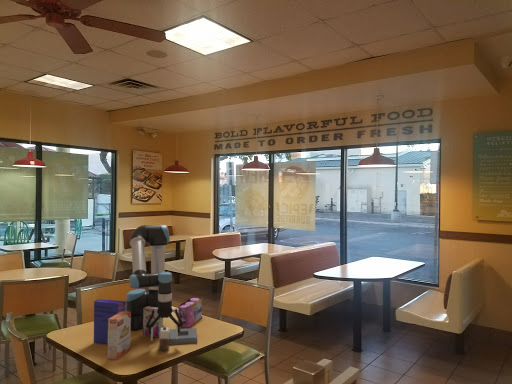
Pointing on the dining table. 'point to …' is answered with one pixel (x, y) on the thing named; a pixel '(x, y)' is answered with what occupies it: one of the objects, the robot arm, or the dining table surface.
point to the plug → (164, 333)
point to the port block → (183, 336)
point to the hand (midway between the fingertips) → (164, 339)
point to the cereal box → (105, 317)
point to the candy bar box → (156, 327)
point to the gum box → (190, 311)
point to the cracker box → (119, 335)
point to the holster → (164, 344)
